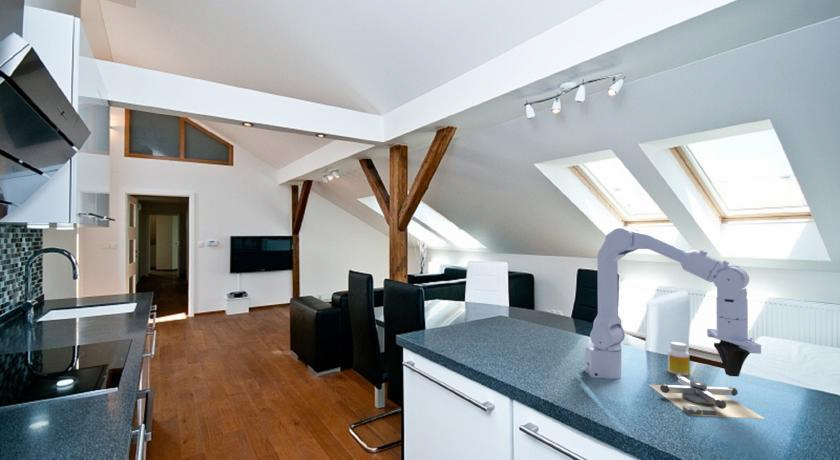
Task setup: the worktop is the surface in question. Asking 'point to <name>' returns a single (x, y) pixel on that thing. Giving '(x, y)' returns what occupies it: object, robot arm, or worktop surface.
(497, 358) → the worktop surface
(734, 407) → the stand plate
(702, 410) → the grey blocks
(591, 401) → the worktop surface
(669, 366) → the supplement bottle
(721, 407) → the cam capstan
